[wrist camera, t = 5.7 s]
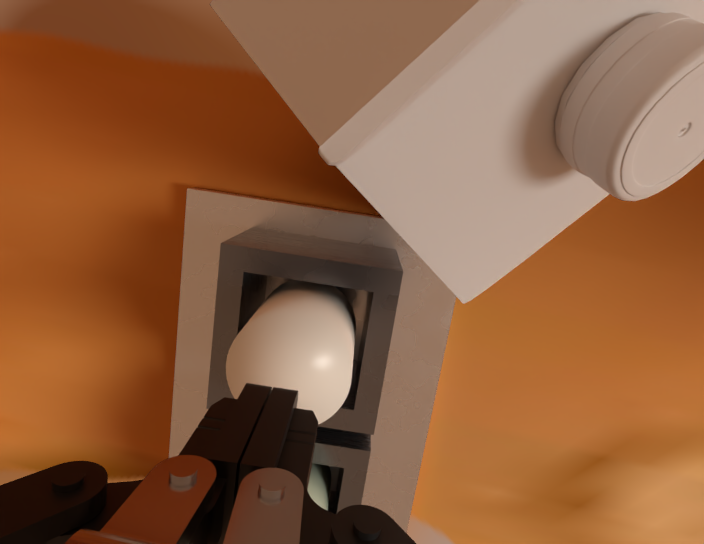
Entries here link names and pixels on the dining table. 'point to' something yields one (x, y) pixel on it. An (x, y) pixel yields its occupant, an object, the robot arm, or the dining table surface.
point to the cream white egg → (298, 346)
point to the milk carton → (487, 111)
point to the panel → (370, 338)
